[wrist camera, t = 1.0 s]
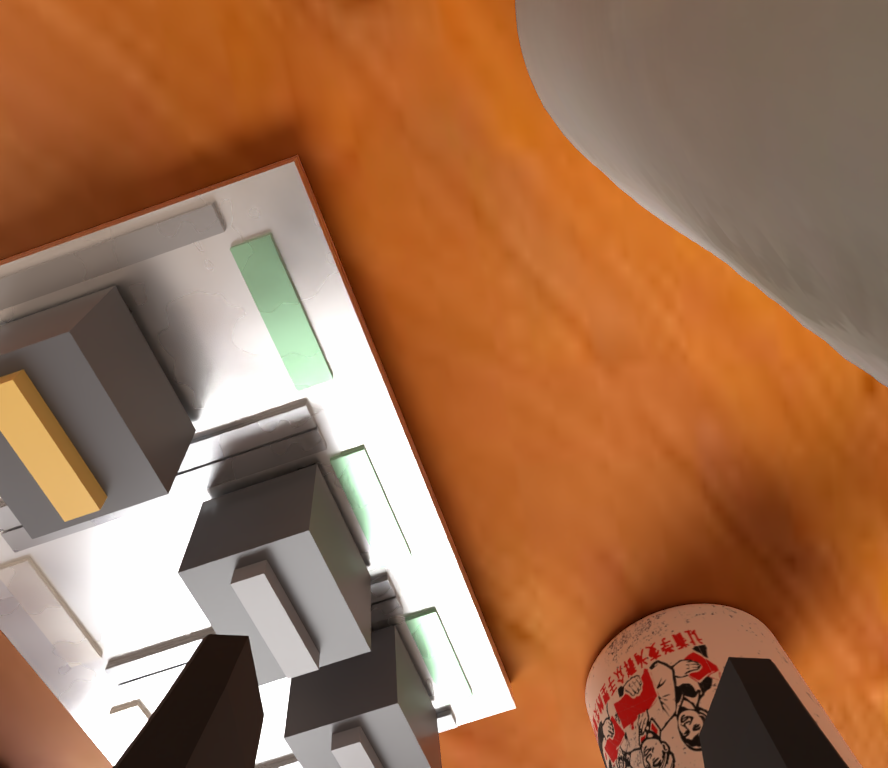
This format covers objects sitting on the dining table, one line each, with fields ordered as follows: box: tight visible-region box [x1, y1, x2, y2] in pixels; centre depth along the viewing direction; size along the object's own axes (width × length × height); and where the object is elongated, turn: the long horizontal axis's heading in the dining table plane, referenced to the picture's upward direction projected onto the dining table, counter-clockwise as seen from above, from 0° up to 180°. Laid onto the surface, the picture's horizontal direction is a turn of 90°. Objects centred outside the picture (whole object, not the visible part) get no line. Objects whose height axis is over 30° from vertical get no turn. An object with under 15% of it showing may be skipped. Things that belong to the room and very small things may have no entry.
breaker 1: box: [178, 464, 371, 686], centre depth 23 cm, size 4×5×4 cm
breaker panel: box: [0, 155, 516, 768], centre depth 26 cm, size 16×23×2 cm
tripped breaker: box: [0, 286, 196, 539], centre depth 20 cm, size 4×5×4 cm
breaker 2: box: [284, 625, 442, 768], centre depth 26 cm, size 4×5×4 cm
